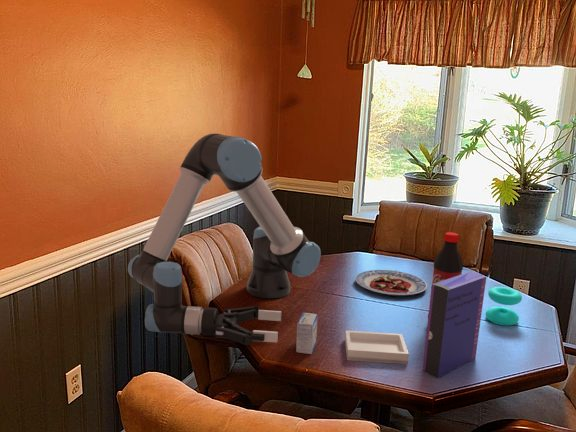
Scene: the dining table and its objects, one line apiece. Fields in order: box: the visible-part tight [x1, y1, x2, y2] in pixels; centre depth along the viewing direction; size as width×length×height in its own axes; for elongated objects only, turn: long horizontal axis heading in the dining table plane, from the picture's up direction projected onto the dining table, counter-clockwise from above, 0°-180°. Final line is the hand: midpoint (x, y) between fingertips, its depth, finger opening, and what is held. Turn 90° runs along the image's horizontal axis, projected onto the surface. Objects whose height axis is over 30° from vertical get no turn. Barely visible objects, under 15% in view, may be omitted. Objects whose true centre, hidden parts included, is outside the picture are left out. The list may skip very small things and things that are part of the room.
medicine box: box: [295, 312, 318, 355], centre depth 155 cm, size 8×4×9 cm, turn 168°
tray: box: [344, 330, 410, 365], centre depth 154 cm, size 12×16×3 cm
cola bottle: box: [427, 232, 464, 314], centre depth 169 cm, size 8×8×30 cm
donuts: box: [485, 286, 523, 326], centre depth 179 cm, size 10×10×10 cm
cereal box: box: [421, 271, 487, 379], centre depth 147 cm, size 17×5×24 cm, turn 131°
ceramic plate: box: [355, 269, 428, 296], centre depth 206 cm, size 26×26×3 cm
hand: (279, 326), depth 154 cm, fingers open, 13 cm apart
